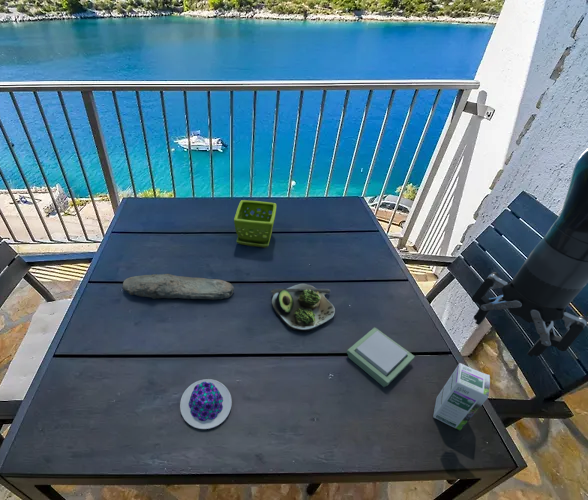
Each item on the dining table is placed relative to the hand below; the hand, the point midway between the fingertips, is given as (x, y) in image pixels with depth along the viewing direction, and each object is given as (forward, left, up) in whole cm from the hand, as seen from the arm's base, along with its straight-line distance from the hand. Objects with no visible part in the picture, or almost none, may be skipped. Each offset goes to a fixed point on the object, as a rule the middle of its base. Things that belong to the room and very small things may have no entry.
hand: (503, 337), depth 62 cm
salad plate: (+43, +3, -28) cm, 52 cm away
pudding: (+36, +42, -28) cm, 62 cm away
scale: (+18, 0, -28) cm, 33 cm away
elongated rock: (+72, +28, -28) cm, 82 cm away
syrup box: (0, 0, -28) cm, 28 cm away
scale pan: (+18, 0, -26) cm, 31 cm away
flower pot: (+78, -9, -28) cm, 83 cm away
